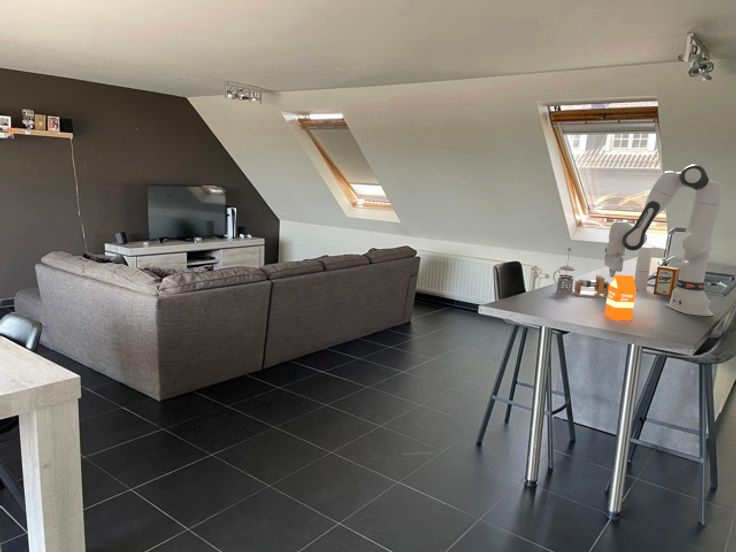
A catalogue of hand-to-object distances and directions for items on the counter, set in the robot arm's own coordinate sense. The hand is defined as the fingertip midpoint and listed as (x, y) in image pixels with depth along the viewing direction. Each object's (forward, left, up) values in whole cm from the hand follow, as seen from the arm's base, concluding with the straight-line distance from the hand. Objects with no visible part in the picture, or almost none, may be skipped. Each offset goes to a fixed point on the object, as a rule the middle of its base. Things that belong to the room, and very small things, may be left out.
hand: (611, 276), depth 293 cm
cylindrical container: (+29, -25, -11) cm, 40 cm away
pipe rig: (0, +9, -11) cm, 14 cm away
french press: (-1, +25, -11) cm, 27 cm away
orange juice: (-49, +10, -11) cm, 51 cm away
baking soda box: (+16, -34, -11) cm, 39 cm away
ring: (0, +6, -9) cm, 11 cm away
